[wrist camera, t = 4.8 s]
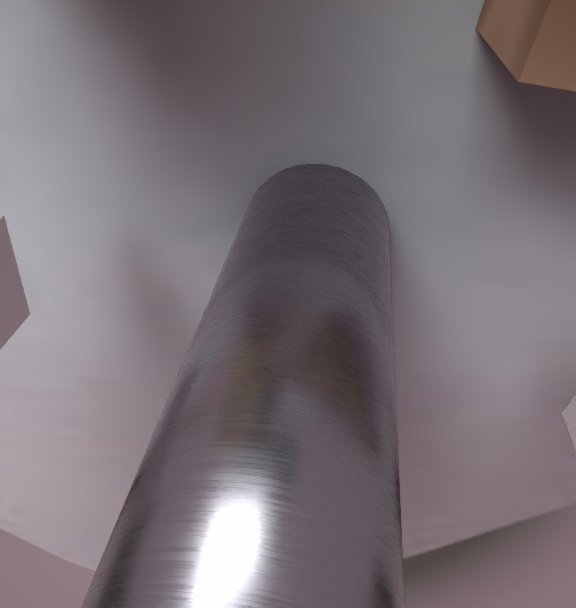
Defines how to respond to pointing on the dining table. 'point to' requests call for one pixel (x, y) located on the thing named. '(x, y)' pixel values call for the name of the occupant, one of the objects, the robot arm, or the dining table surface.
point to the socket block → (533, 39)
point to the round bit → (277, 423)
